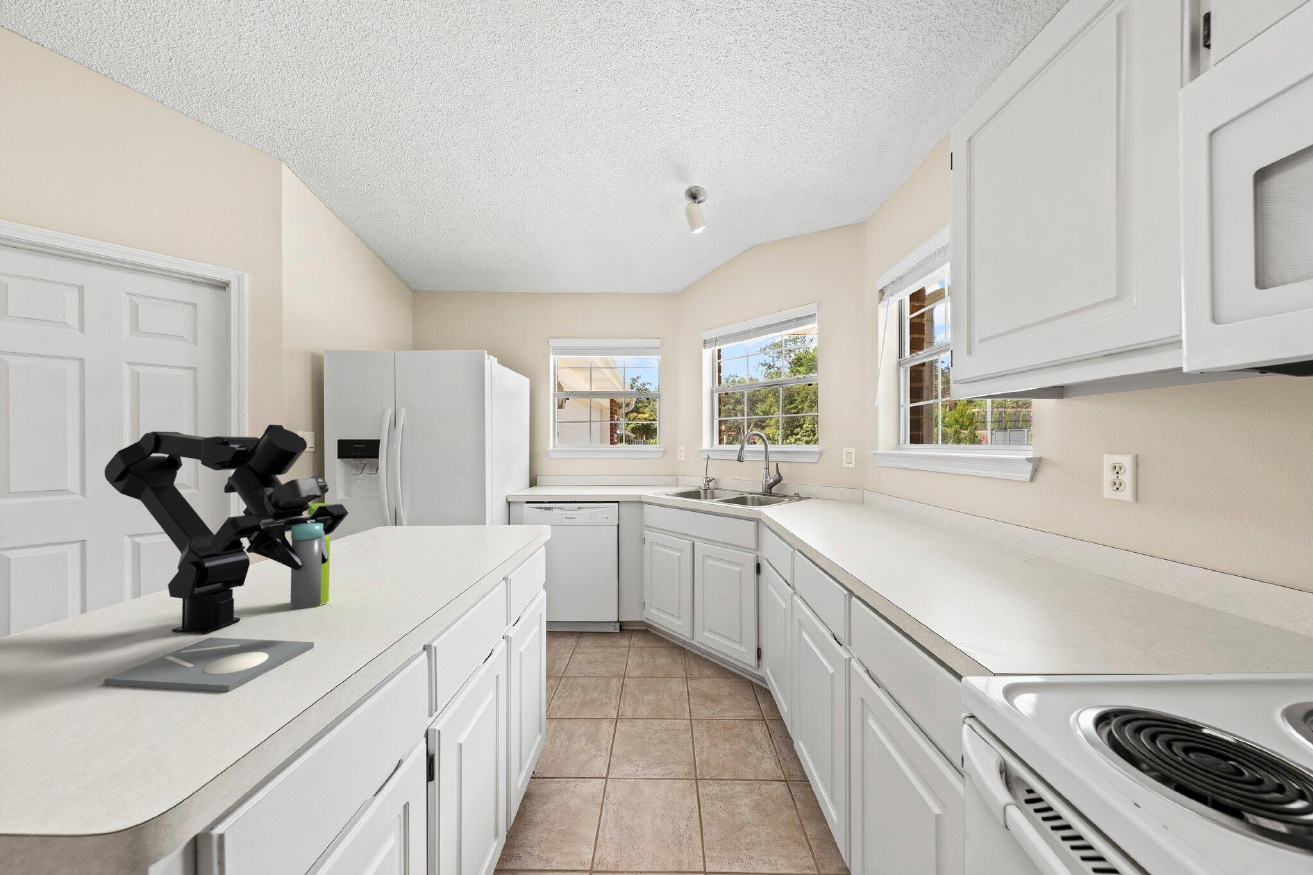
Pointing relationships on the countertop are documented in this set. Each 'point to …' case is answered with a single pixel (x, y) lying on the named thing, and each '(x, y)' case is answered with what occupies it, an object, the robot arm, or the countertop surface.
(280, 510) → the robot arm
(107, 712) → the countertop surface
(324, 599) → the soap dispenser
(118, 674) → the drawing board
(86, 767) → the countertop surface
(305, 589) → the marker
